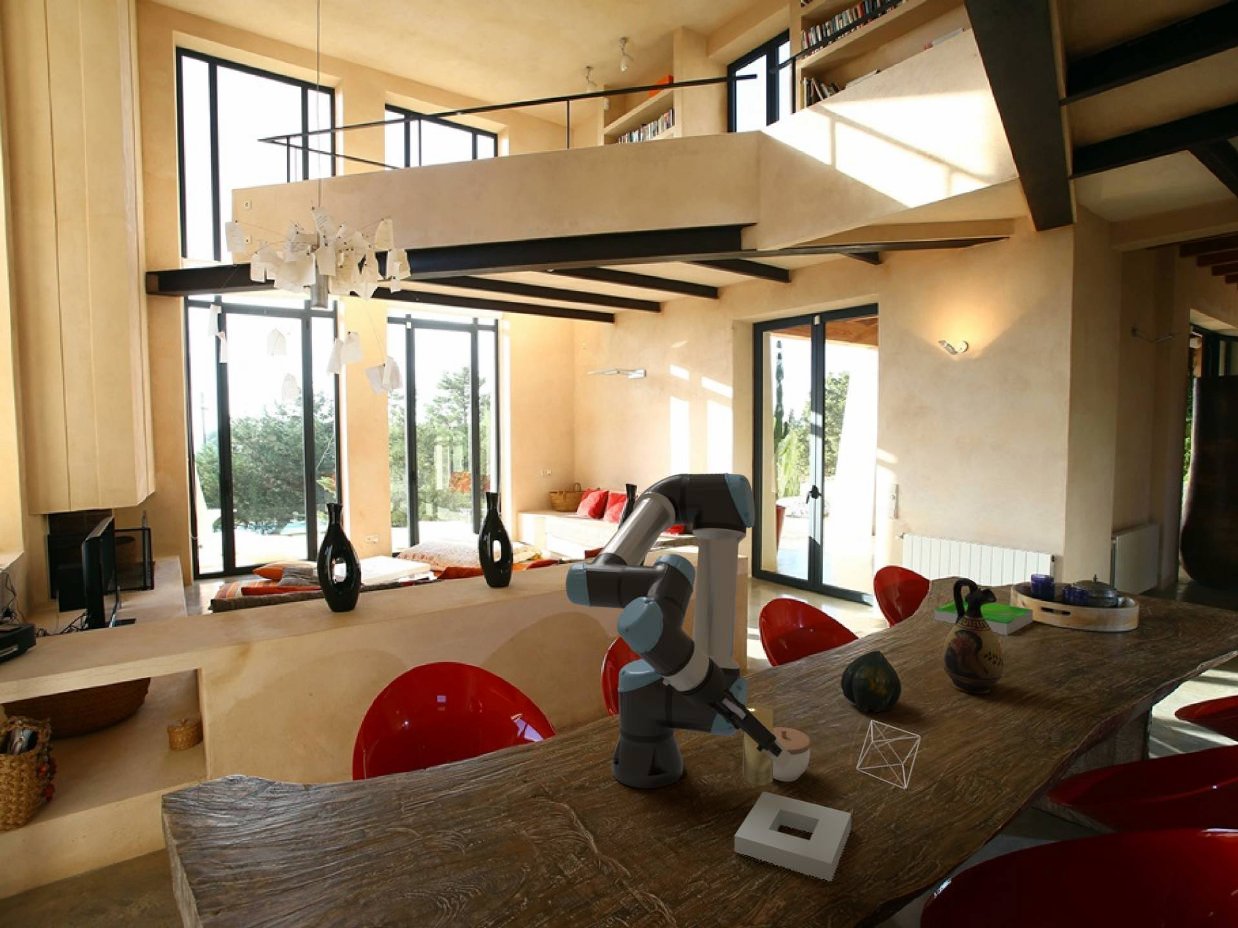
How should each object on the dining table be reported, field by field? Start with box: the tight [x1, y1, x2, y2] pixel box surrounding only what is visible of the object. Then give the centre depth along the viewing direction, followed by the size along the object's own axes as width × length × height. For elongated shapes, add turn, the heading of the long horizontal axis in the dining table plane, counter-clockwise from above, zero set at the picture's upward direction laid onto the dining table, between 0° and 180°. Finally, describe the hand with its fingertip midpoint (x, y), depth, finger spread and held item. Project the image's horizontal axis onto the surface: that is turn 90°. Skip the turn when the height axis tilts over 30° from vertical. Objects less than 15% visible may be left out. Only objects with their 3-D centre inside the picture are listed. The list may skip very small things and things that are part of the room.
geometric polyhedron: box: [856, 719, 922, 790], centre depth 138 cm, size 12×11×9 cm
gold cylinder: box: [742, 702, 774, 786], centre depth 113 cm, size 5×5×12 cm
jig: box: [734, 791, 852, 882], centre depth 115 cm, size 16×16×3 cm
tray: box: [933, 597, 1034, 636], centre depth 248 cm, size 25×25×5 cm
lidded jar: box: [773, 726, 811, 782], centre depth 138 cm, size 11×11×9 cm
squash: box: [840, 650, 902, 713], centre depth 172 cm, size 14×15×15 cm
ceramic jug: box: [941, 577, 1005, 695], centre depth 184 cm, size 17×15×30 cm
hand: (776, 754), depth 114 cm, fingers closed on gold cylinder, 5 cm apart
